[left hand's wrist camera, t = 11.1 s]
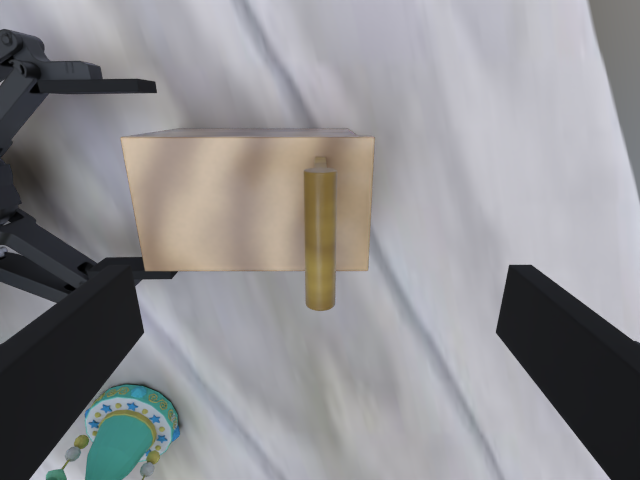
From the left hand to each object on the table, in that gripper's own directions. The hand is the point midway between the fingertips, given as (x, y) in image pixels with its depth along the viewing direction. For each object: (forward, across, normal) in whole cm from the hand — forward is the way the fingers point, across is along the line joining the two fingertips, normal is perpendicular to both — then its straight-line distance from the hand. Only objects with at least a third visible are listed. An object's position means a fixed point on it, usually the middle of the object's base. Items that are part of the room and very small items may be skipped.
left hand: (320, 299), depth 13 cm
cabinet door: (+13, +5, 0) cm, 14 cm away
